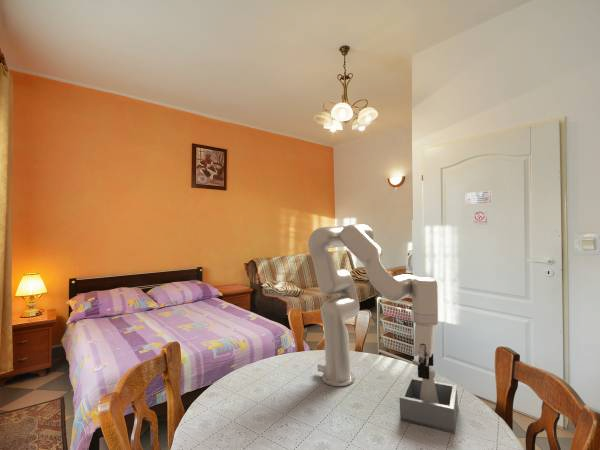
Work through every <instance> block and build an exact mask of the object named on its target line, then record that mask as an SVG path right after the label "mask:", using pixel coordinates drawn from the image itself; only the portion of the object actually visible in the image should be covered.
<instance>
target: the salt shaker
mask: <svg viewBox="0 0 600 450" xmlns="http://www.w3.org/2000/svg"><path fill="white" fill-rule="evenodd" d="M435 376H436V373H435V370H434V369H433V368H432V367H431V366H429V379H424V378H421V379H422V386H421V392H420V398H419V400H423V401H428V402H432V403H437V404H439V401H438V397H437V392H436V388H435V384H434V381H435V379H434V378H435Z"/></svg>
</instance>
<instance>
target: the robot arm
mask: <svg viewBox="0 0 600 450" xmlns="http://www.w3.org/2000/svg"><path fill="white" fill-rule="evenodd" d="M307 241H308V244H307V246H308V251H309V254H310V257H311V261H312V263H313V269H314V272H315V277H316V281H317V285H318V289H319V291H320V293H321V294H323V295H324V296H334V295H337V297H333V298H330V299H327V300H325V302H323V303H322V305H321V307H320V316H321V320H322V325H323V334H324V354H325V356H324V357H325V358H324V359H325V364H322V363H318V364H317V371H318V372H320V373H323V374H322V376H321V377H322V382H323V383H325V384H327V385H329V386H332V387H346V386H349V385H351V384H353V383H354V382H355V377H356V376H355V374H354V373H353V372H351V359H350V357H351V356H350V337H349V330H348V328H347V326H346V323H345V321H348V320H349V319H352V318H355V317H356V316H357V315H358V314H359V312H360V301H359V297H358V292H357V288H356V285H355V281H354V279H353V276H352V274H351V273H350V272H349V271H348V270H346V269H343V268H338V269H337V267H336V264H335V259H334V256H333V255H332V254H331V252H330V251H329V249H333V248H340V247H345V248H346V249H347V250H349V252H350V253H351V254H352V255H353V256H355V258H356V259H357V260H358V261H359V262H360V263H361V264H362V265H363V266H364V271H365V273H366V274H365V275H366V277H367V279H368V281H369V283H370V284H371V286H373V288H374V289H376V291H377V292H378V293H379V294H380V295H381V296H382V297H383V298H385V299H386V300H389V302H390V301H391V302H399V301H400V300H403V299H407V298H411V303H412V305H411V307H412V308H411V309H412V311H411V312H412V317H411V318H412V323H414V324H415V325H414V344H413V347H414V348H413V355H414V356H415V357H416V356H417V358H418V359H417V378H418V379H423V378H424V379H429V367H433V366H434V348H435V326H436V325H439V309H438V308H439V301H438V300H439V299H438V298H439V297H438V290H439V289H438V283H437V280H436V279H434V278H432V277H420V276H415V275H412V274H406V273H405V274H404V273H402V274H399V275H398V274H397V275H394V276H393V275H392V274H391V273H390V272H389V271H387V269H386V268H385V267H384V266H383V264H382V262H381V257H382V255H383V250H382V248H381V247H380V246H379V245H378V244H377V243H376V242H374V232H373V229H372V228H371V227H369V225H366V224H362V223H360V224H359V223H358V224H349V225H344V226H342V225H341V226H323V227H318V228H316V229H315V230H313V231H312V232H311V234H310V235H309V237H308V240H307Z"/></svg>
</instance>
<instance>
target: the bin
mask: <svg viewBox="0 0 600 450" xmlns="http://www.w3.org/2000/svg"><path fill="white" fill-rule="evenodd" d="M422 379H423V378H419V377H412V376H409V377H408V378H407V380H406V382H405V384H404V387H403V389H402V391H401V394H400V396H399V413H400V414H399V415H400V416H399V418H400V422H404V423H407V424H409V423H410V424H413V425H417V426H421V427H424V428H429V429H433V430H436V431H437V430H438V431H442V432H445V433H449V434H454V435H455V434H456V428H457V420H458V409H459V401H458V384H450V383H445V382H440V381H435V380H434V384H435V388H436V392H437V397H438V401H439V404H437V403H432V402H428V401H423V400H419V398H420V392H421V386H422Z"/></svg>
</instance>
